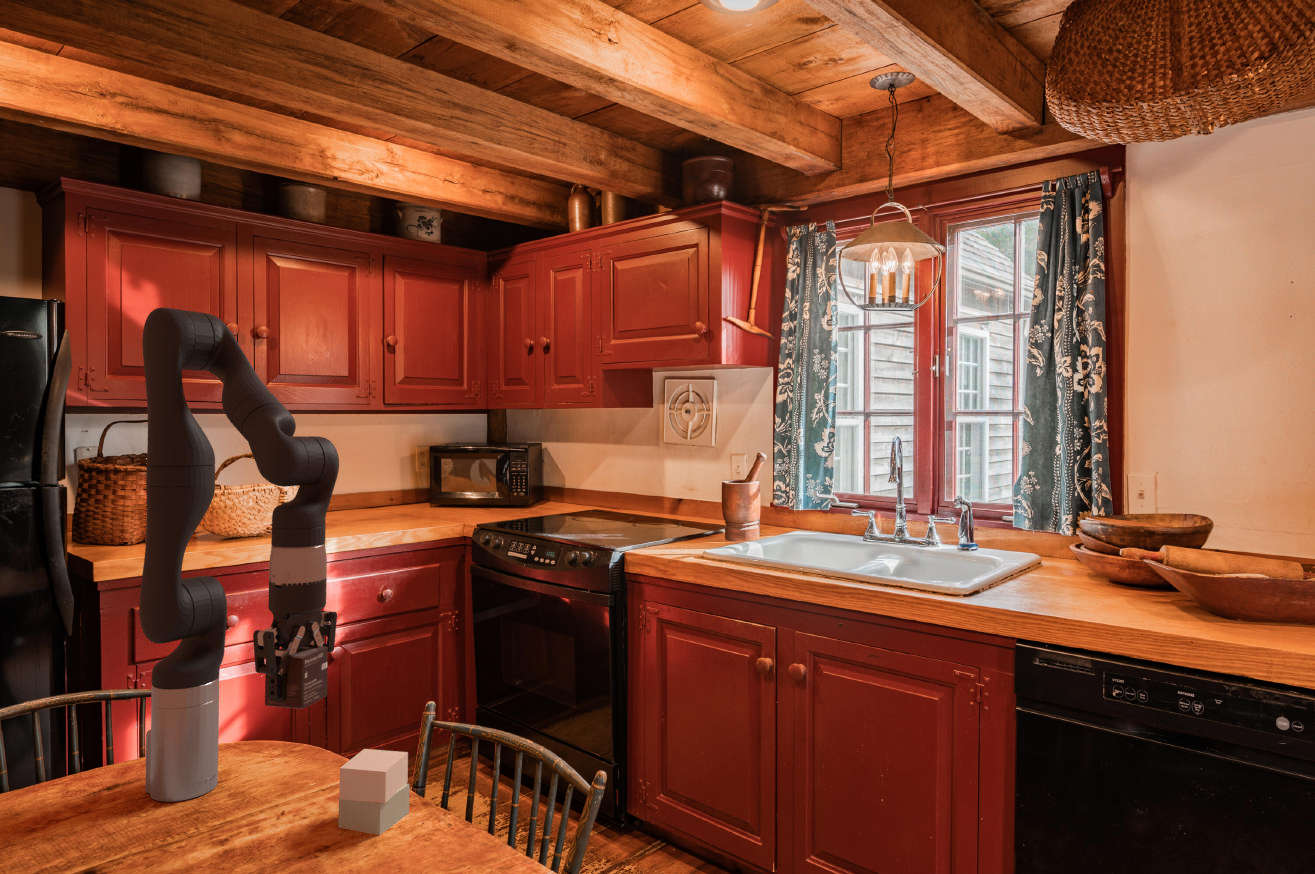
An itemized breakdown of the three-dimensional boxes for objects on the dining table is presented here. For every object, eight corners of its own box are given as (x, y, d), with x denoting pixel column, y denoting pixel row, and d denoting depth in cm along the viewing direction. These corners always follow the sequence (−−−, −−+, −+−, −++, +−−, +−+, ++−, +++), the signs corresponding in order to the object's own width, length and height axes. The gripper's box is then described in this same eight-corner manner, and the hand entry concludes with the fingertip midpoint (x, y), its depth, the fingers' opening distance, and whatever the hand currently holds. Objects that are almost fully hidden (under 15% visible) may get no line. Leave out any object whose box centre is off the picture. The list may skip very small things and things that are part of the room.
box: (301, 710, 110) (302, 657, 110) (263, 706, 111) (264, 654, 111) (328, 696, 116) (329, 646, 116) (291, 692, 117) (292, 643, 117)
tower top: (339, 799, 114) (339, 767, 114) (363, 778, 121) (364, 748, 121) (385, 803, 113) (385, 771, 113) (407, 781, 120) (408, 752, 120)
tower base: (338, 827, 115) (338, 796, 115) (369, 806, 122) (370, 776, 122) (379, 836, 113) (380, 804, 113) (409, 813, 120) (409, 783, 120)
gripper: (312, 566, 122) (310, 675, 122) (236, 583, 108) (234, 706, 108) (353, 569, 119) (351, 681, 119) (281, 587, 106) (279, 713, 106)
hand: (296, 692), depth 114 cm, fingers closed on box, 6 cm apart
